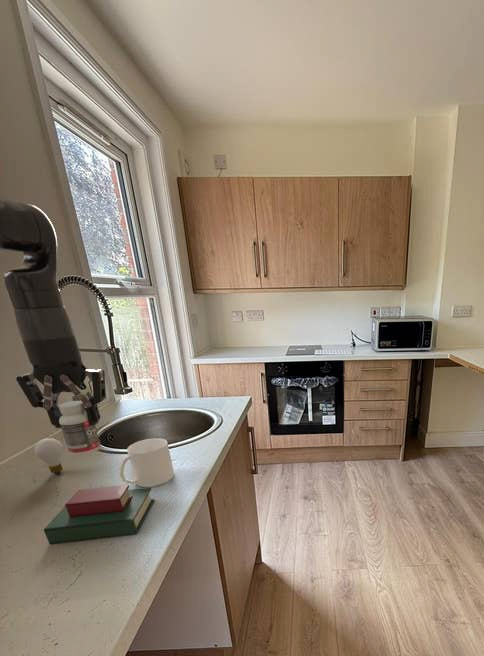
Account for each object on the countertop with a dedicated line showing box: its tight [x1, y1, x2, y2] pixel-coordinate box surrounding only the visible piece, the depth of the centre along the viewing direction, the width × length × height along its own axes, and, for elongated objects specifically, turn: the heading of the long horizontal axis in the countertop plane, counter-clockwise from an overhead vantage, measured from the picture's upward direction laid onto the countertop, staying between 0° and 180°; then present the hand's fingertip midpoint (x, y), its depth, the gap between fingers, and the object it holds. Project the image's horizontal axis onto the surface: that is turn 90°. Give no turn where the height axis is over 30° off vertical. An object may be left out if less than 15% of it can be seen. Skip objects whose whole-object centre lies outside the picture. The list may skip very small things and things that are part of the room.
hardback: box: [43, 487, 155, 545], centre depth 73 cm, size 16×12×4 cm
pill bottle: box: [58, 400, 102, 457], centre depth 67 cm, size 5×5×10 cm
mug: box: [118, 437, 175, 488], centre depth 87 cm, size 12×9×9 cm
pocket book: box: [64, 484, 132, 517], centre depth 72 cm, size 10×6×3 cm, turn 99°
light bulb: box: [34, 437, 64, 475], centre depth 91 cm, size 6×6×10 cm
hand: (77, 424), depth 67 cm, fingers closed on pill bottle, 5 cm apart
